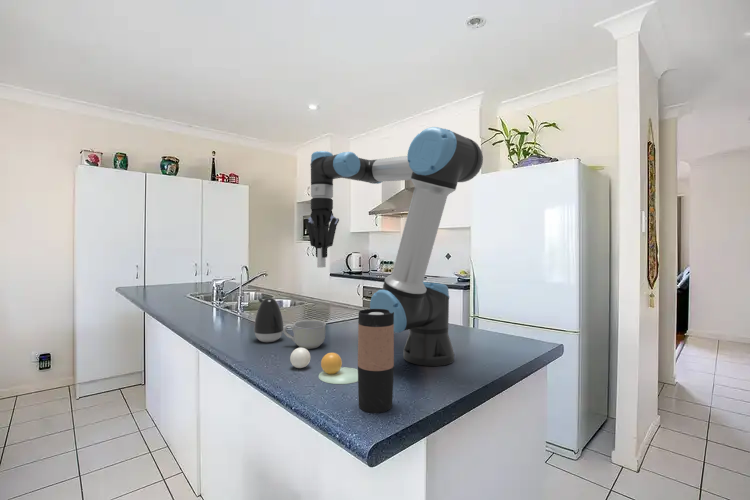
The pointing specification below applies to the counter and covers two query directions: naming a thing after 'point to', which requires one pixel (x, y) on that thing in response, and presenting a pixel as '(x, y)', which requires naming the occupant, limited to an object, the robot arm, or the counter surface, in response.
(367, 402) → the travel mug
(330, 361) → the orange ball
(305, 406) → the counter surface
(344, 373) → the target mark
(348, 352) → the counter surface
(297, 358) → the cue ball
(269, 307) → the black and grey ovoid
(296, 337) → the teacup
